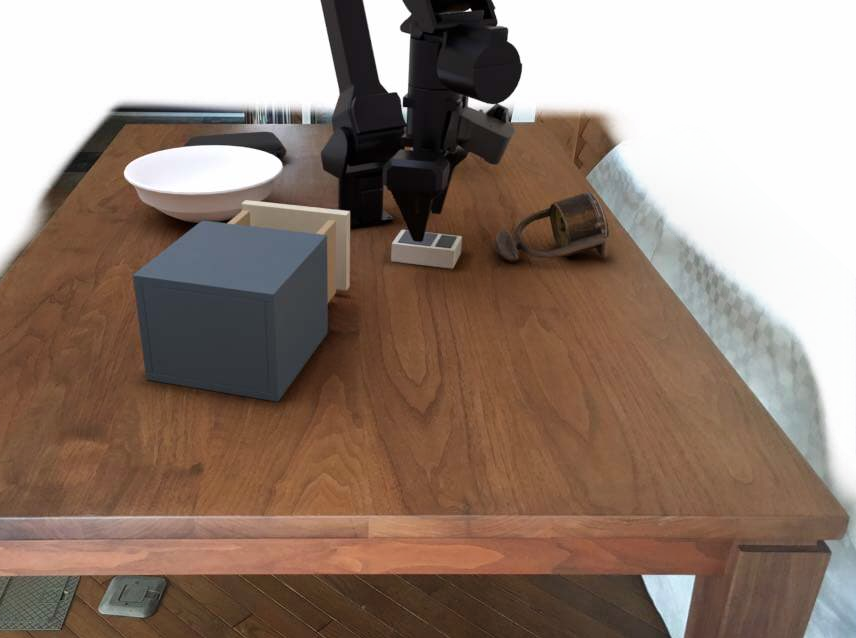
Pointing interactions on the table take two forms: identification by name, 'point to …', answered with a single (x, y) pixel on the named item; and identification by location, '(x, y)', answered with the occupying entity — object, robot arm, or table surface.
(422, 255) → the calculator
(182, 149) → the bowl
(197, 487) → the table surface
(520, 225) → the brass cylinder with loop
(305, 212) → the drawer
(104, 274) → the table surface
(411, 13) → the robot arm
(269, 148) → the carrying case
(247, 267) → the cabinet
